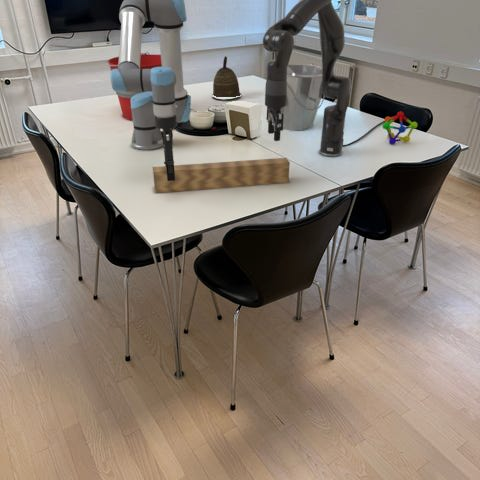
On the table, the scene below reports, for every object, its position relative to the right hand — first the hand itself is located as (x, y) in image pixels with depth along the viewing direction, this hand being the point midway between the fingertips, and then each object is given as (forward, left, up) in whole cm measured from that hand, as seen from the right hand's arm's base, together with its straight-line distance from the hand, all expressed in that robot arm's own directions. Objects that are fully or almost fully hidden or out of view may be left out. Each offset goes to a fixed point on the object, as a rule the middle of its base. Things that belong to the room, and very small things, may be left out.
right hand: (273, 136), depth 164 cm
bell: (-79, -102, -18) cm, 131 cm away
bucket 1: (-21, -109, -18) cm, 112 cm away
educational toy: (-74, +15, -18) cm, 78 cm away
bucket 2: (-63, -36, -18) cm, 75 cm away
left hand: (+32, -23, -11) cm, 41 cm away
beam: (+16, -12, -18) cm, 26 cm away
